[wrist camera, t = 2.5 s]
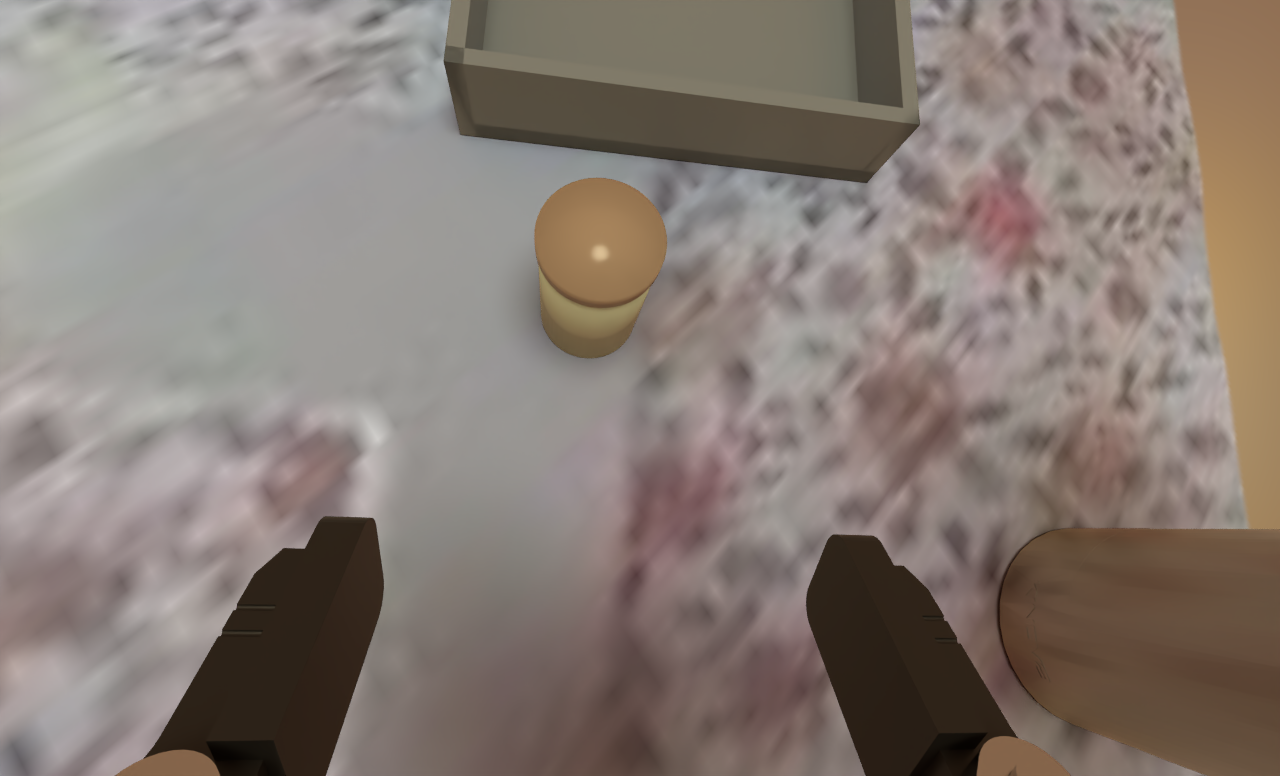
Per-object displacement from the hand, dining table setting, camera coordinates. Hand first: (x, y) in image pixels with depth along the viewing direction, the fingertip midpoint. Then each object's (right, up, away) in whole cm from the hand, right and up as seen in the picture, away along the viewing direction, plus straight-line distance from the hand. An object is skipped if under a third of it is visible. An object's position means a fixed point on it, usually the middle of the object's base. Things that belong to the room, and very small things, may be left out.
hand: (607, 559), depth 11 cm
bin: (+3, +26, +24) cm, 35 cm away
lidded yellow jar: (-2, +7, +19) cm, 20 cm away
